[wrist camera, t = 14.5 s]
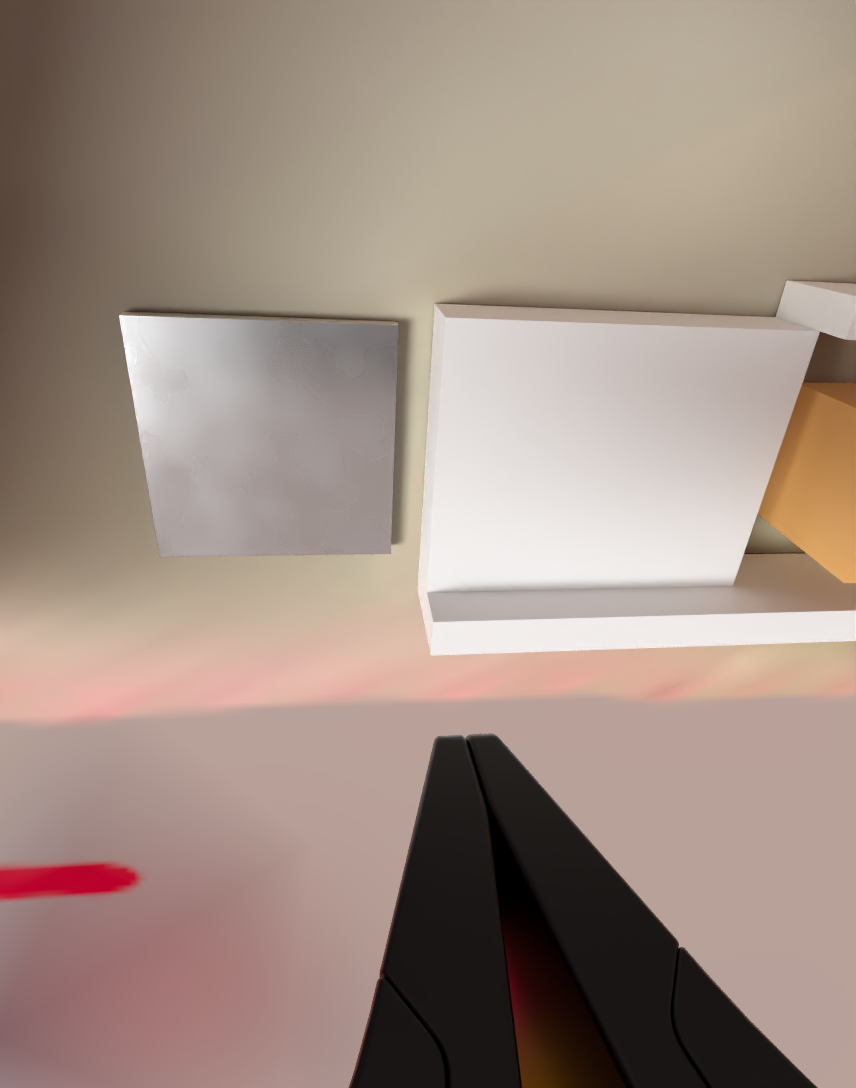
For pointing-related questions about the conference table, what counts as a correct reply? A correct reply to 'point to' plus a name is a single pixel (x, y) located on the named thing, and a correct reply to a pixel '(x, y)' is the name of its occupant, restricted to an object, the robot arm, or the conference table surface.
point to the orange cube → (818, 478)
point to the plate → (265, 432)
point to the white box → (617, 478)
